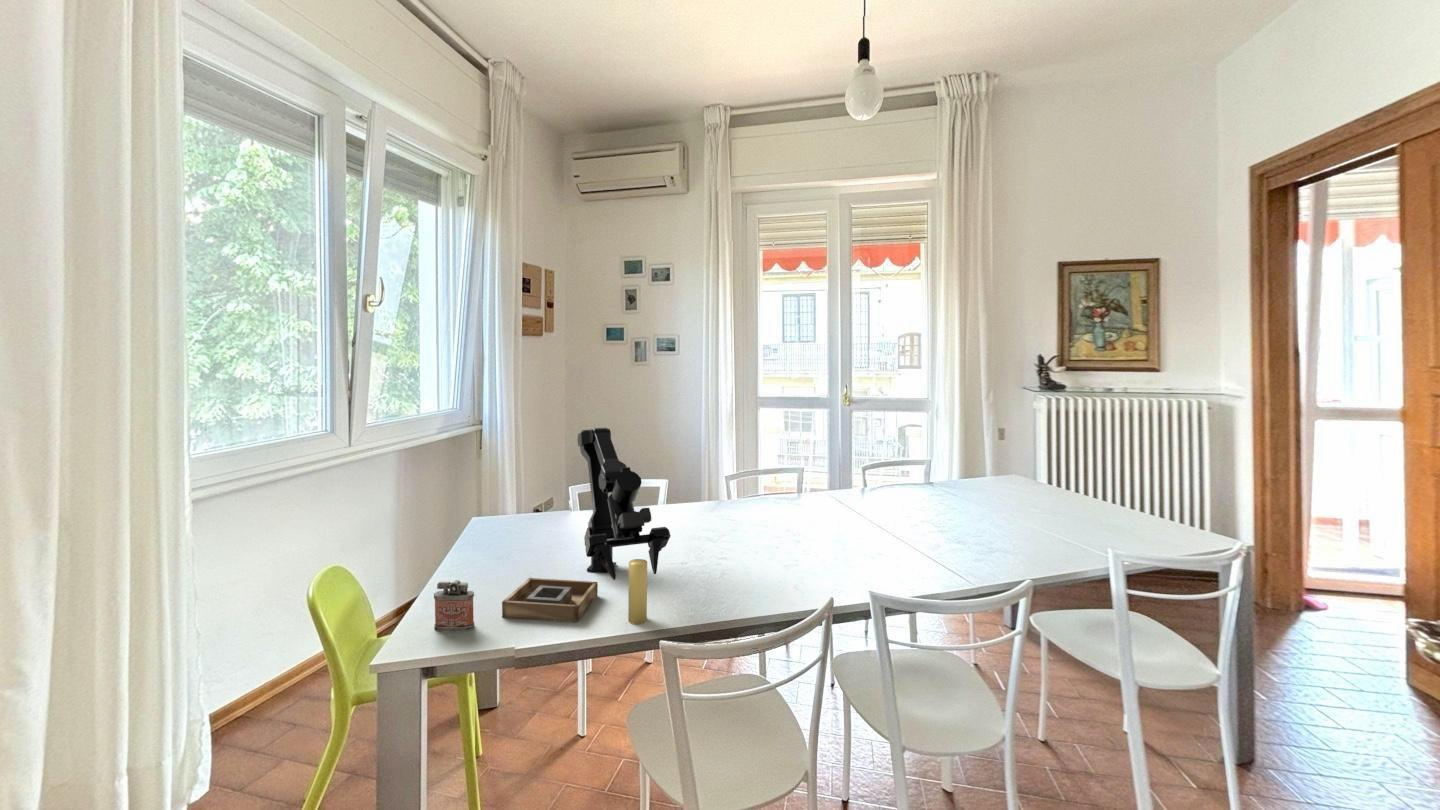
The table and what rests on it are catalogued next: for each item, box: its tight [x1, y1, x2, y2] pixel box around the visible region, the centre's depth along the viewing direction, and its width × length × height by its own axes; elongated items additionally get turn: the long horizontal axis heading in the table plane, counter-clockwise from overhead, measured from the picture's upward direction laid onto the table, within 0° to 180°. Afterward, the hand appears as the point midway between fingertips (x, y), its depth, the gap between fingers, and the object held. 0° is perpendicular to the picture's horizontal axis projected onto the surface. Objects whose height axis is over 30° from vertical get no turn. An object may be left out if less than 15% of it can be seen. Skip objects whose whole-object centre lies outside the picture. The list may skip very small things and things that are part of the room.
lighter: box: [433, 579, 475, 632], centre depth 121 cm, size 8×3×10 cm, turn 92°
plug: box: [627, 558, 648, 625], centre depth 127 cm, size 4×4×13 cm
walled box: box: [501, 577, 599, 623], centre depth 133 cm, size 14×17×4 cm
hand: (635, 576), depth 128 cm, fingers open, 9 cm apart
